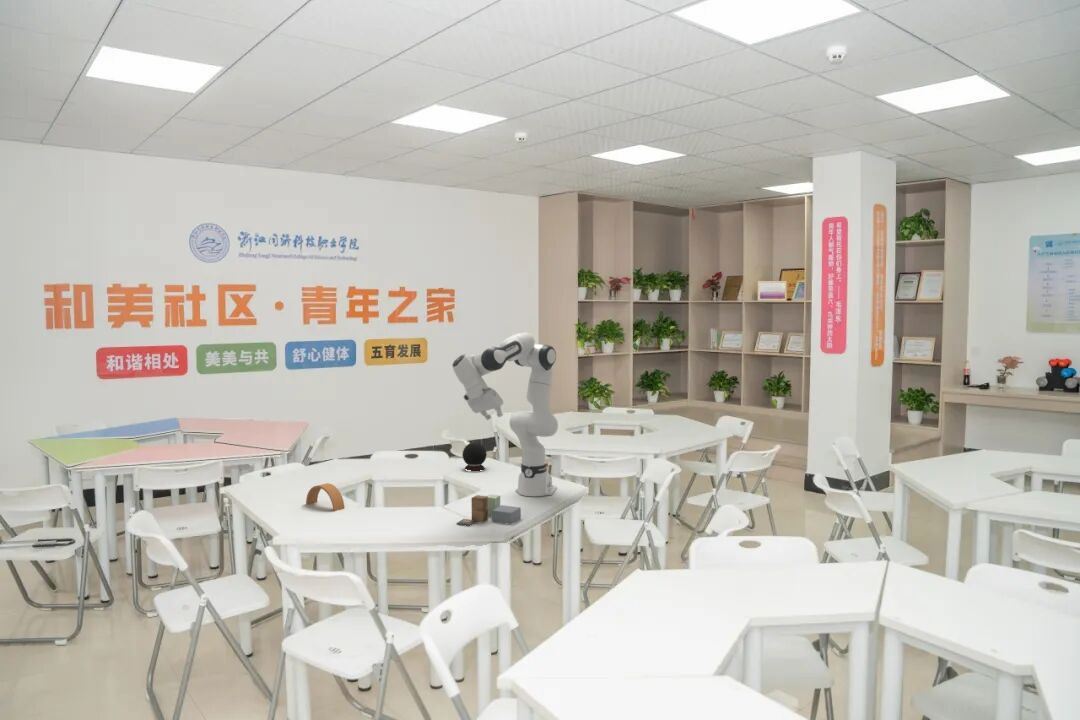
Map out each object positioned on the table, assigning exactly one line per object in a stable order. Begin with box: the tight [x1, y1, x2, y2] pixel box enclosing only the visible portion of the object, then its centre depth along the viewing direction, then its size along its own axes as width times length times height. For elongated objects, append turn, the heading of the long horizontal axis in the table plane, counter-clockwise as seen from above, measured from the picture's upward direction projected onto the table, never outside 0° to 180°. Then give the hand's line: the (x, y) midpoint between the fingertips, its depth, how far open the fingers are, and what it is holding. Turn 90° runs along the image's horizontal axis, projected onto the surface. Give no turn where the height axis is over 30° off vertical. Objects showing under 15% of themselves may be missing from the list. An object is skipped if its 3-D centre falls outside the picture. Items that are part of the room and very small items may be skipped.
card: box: [456, 518, 477, 527], centre depth 303 cm, size 6×6×1 cm
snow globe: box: [461, 442, 488, 472], centre depth 403 cm, size 13×13×15 cm
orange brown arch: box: [305, 482, 345, 512], centre depth 329 cm, size 6×20×10 cm, turn 53°
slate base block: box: [491, 504, 522, 525], centre depth 308 cm, size 9×9×5 cm
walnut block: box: [471, 494, 489, 524], centre depth 308 cm, size 5×5×10 cm
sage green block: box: [487, 494, 501, 517], centre depth 316 cm, size 5×5×8 cm
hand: (495, 417), depth 314 cm, fingers open, 8 cm apart
